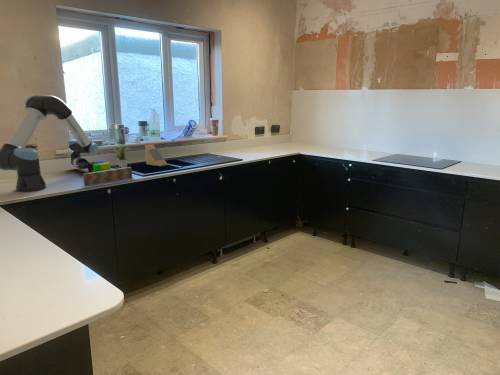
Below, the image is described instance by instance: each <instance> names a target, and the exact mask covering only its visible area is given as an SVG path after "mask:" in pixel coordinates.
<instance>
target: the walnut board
mask: <svg viewBox="0 0 500 375" xmlns="http://www.w3.org/2000/svg"><path fill="white" fill-rule="evenodd" d="M132 170H133V168H132V167H131V166H127V167H125V168H111V170H105V171H98V172H92V173H89V172H85V173H82V177H83V185H84V186H85V187H87V186H92V185H93V186H94V185H99V184H105V183H110V182H115V181H116V182H117V181H121V180H127V179H133V171H132Z"/></svg>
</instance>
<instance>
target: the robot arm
mask: <svg viewBox="0 0 500 375" xmlns="http://www.w3.org/2000/svg"><path fill="white" fill-rule="evenodd" d="M24 105H25V106H24V108H25V109H24V110H25V115H24V116H23V118H22V120H21V122H20V123H19V125H18V126H17V128H16V129H15V131H14V133H13V135H12V136H11V138H10V139H9V141H8V142H6V143H4V144H3V145H2V146H1V147H0V170H3V171H16V174H17V179H16V184H15V189H16V192H21V193H22V192H23V193H24V192H34V191H40V190H43V189H46V188H47V184H46V181H45V179H44V178H43V176H42V174H41V173H42V172H41V167H40V166H41V165H40V156H39V153H38V151H37V149H35V148H31V147H26V146H27V144H28V142H29V141H30V140H31V138H32V136H33V134H34V133H35V131H36V129H37V127H38V126H39V124H40V122H41V121H45V119H46V117H47V116H48V115H51V116H55V117H56V118H57V119H58V121H59V120H60V121H61V122H62V123H63V125H64V126H65V127H66V128H67V130H68V131H69V133H70V134H71V135H72V136H73V137H74V139H69V148H70V149H71V150H73V151H74V152H73V153H72V154H71V164H72V165H73V166H72V167H74V166H75V168H77V169H79V170H86V169H87V170H88V164H87V163H94V162H95V161H91V162H90V161H89V160H87V159H86V158H83V157H82V156H81V154H89V155H93V154H97V153H98V152H99V145H98V144H97V143H95V142H92V140H91V139H90V138H89V136H88V134H86V132H85V131H84V129H83V128H82V127H81V125H80V124H79V122H78V121H77V119H76V118H75V116H74V115H73V111H72V110H71V108H70V107H69V106H68V104H67V103H65V101H63V100H62V99H61V98H59V97H57V96H55V95H32V96H29V97H27V98H26V100H25V103H24Z"/></svg>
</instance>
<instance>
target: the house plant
mask: <svg viewBox="0 0 500 375" xmlns="http://www.w3.org/2000/svg"><path fill="white" fill-rule="evenodd" d="M130 149H132V146H131V147H128V146H127V147H126V148H124V147H123V146H122V145H121V146H119V151H118V150H116V149H115V148H113V150H114V151H115V152H116V153H115V155H114V156H115V157H116V158H117V164H118V167H121V168H125V167H128V158H127V157H128V156H129V155H130V156H131V153H127V152H128V151H129V150H130Z"/></svg>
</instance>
